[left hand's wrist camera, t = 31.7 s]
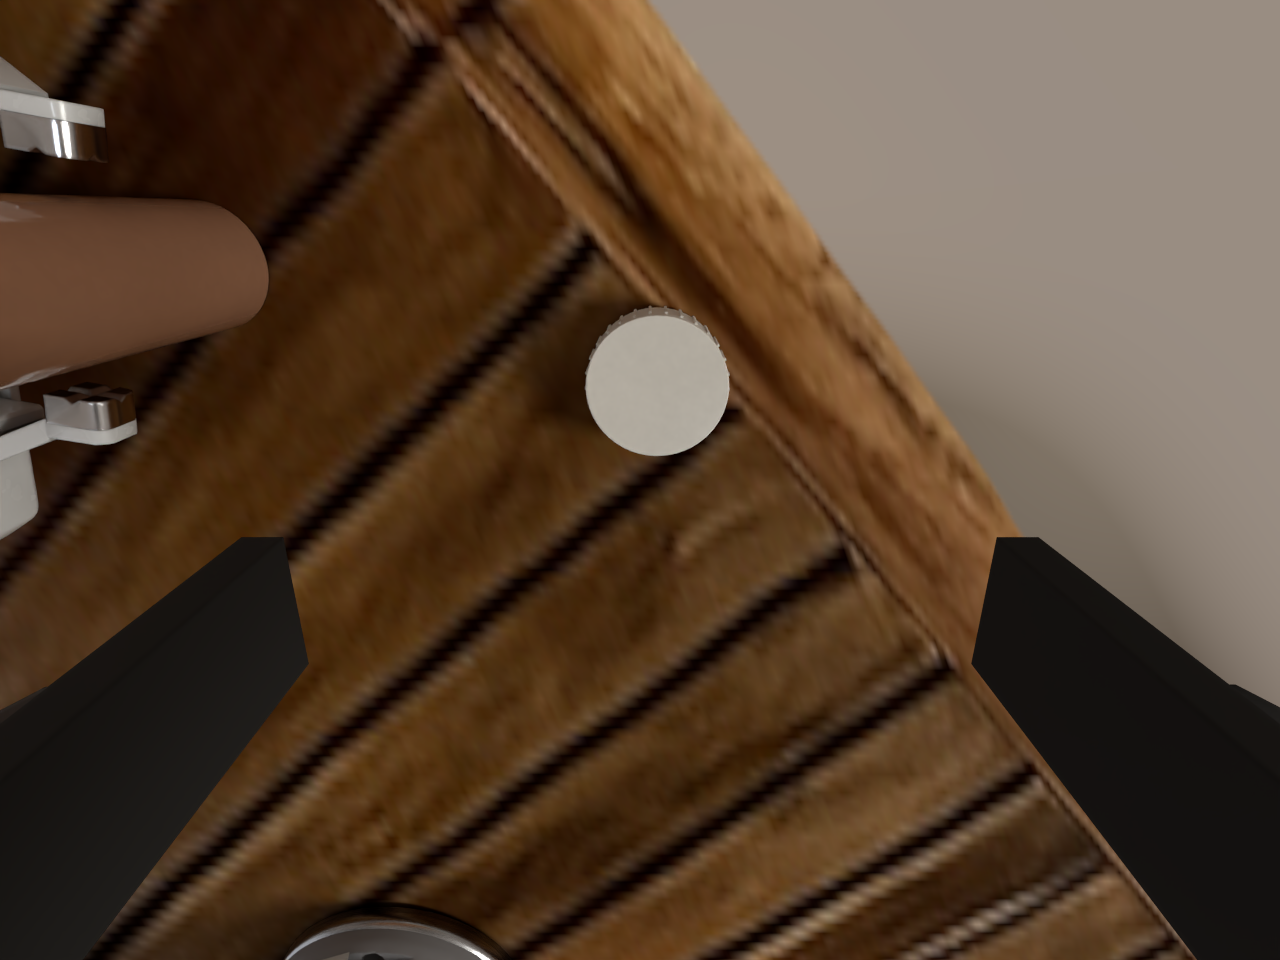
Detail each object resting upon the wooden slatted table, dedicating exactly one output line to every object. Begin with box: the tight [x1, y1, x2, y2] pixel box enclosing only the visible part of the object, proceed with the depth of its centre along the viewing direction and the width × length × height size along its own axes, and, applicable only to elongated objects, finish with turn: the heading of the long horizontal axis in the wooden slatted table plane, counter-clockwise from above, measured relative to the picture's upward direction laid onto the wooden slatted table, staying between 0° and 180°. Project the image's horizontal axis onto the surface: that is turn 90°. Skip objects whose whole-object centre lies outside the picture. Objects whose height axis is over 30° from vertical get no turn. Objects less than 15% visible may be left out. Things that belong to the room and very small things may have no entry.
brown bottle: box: [0, 193, 269, 391], centre depth 19 cm, size 5×5×17 cm
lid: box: [585, 306, 730, 456], centre depth 27 cm, size 6×6×2 cm
